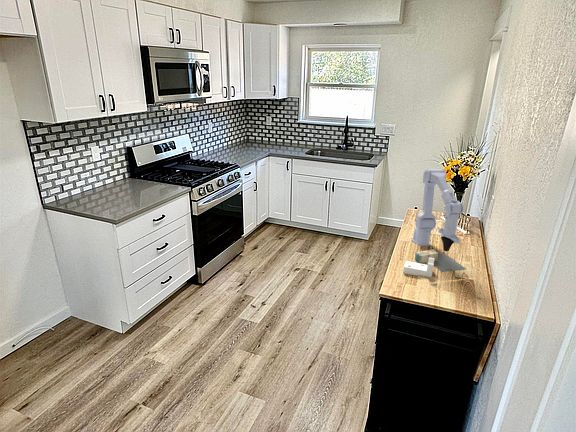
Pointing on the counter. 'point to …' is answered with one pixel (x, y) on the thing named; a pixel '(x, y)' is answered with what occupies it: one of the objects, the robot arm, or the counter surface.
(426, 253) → the tall block
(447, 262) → the mat
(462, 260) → the counter surface
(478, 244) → the counter surface
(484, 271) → the counter surface
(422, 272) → the bracket
